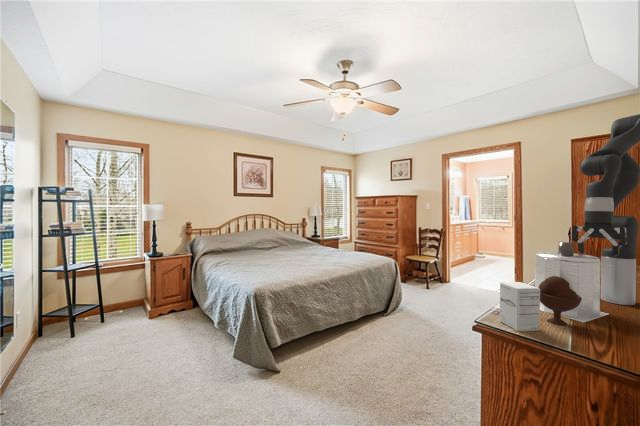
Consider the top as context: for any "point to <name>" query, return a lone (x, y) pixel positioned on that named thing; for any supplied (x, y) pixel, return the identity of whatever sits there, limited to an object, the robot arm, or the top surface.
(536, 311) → the supplement box
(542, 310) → the mat
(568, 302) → the ice cream bowl
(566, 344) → the top surface
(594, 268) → the cover
